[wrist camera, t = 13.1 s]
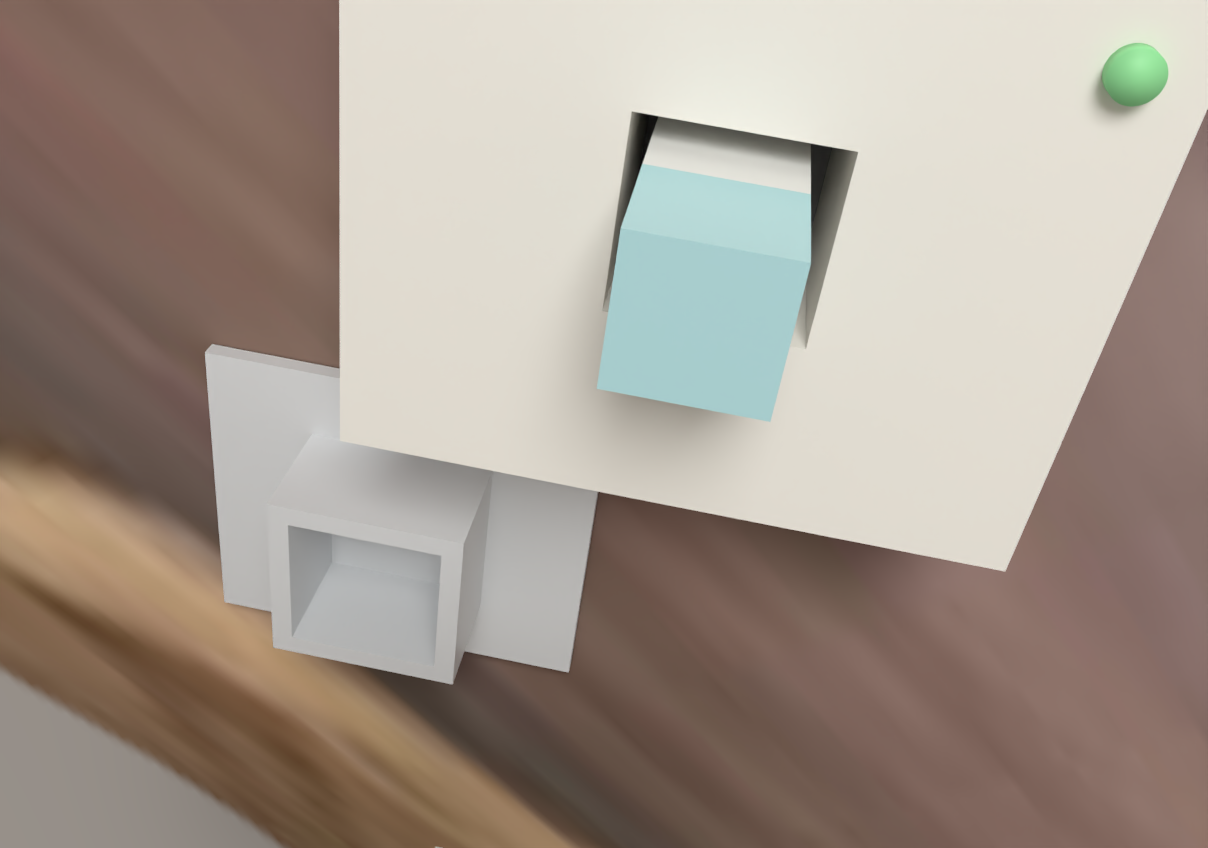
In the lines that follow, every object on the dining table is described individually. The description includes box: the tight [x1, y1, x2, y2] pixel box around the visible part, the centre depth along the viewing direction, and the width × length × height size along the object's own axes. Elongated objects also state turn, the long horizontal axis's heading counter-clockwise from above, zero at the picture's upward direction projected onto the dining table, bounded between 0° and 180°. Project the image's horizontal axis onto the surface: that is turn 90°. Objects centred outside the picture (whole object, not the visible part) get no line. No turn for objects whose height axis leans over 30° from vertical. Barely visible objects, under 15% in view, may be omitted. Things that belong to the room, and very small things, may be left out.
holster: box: [205, 344, 598, 685], centre depth 35 cm, size 12×10×4 cm
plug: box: [597, 116, 811, 422], centre depth 24 cm, size 3×3×9 cm
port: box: [339, 0, 1208, 571], centre depth 25 cm, size 16×14×6 cm
